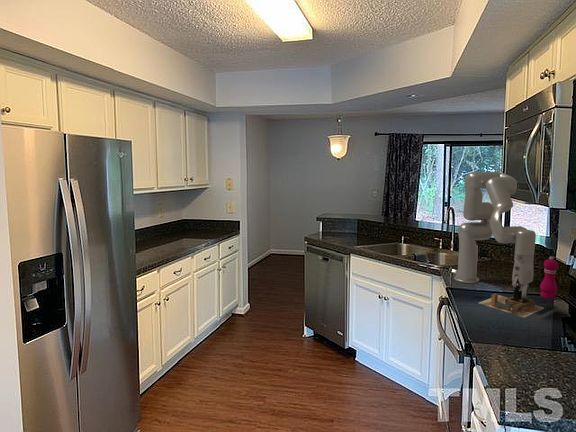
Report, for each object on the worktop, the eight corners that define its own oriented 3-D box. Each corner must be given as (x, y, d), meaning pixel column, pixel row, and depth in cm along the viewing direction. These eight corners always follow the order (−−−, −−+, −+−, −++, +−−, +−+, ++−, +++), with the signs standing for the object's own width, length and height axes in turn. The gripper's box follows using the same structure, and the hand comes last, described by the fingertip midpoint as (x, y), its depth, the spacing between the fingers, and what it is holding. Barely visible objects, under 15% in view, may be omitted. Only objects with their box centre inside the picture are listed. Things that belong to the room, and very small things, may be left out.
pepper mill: (540, 293, 216) (544, 253, 213) (557, 296, 212) (561, 256, 209) (537, 297, 211) (541, 256, 208) (555, 300, 206) (559, 259, 203)
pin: (490, 305, 196) (491, 294, 195) (493, 304, 198) (494, 293, 197) (508, 310, 190) (509, 299, 189) (511, 309, 191) (512, 298, 190)
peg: (512, 302, 196) (514, 281, 194) (517, 300, 198) (519, 279, 197) (522, 305, 192) (524, 284, 191) (527, 303, 195) (529, 282, 193)
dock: (477, 305, 200) (478, 296, 199) (498, 297, 211) (499, 288, 210) (524, 320, 183) (525, 310, 183) (544, 310, 194) (545, 300, 193)
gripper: (522, 262, 184) (519, 304, 187) (541, 256, 194) (538, 296, 197) (505, 259, 190) (502, 299, 193) (524, 253, 200) (521, 291, 203)
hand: (520, 297), depth 195 cm, fingers closed on peg, 4 cm apart
